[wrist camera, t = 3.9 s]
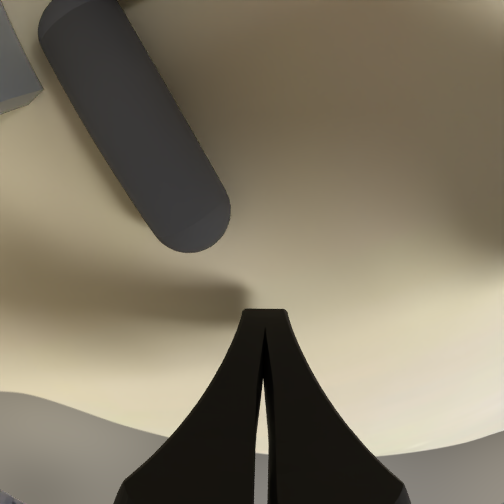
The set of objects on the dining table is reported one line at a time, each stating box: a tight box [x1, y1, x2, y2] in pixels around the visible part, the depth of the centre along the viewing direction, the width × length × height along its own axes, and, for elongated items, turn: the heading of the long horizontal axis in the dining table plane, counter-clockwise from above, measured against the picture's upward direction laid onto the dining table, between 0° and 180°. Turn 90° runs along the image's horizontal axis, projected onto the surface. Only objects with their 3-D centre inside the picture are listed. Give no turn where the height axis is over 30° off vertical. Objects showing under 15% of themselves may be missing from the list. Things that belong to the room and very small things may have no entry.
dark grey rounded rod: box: [38, 0, 230, 253], centre depth 7 cm, size 8×2×2 cm, turn 26°
